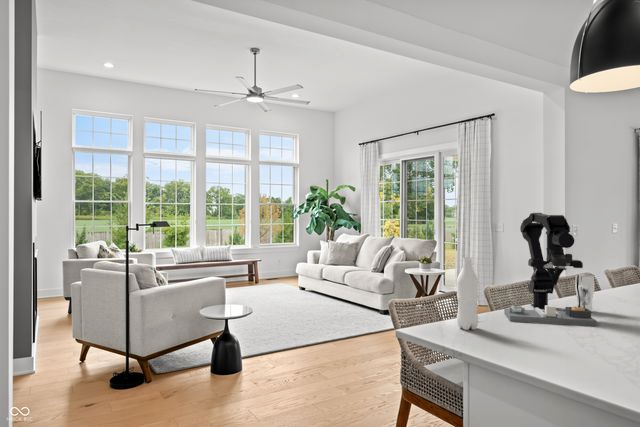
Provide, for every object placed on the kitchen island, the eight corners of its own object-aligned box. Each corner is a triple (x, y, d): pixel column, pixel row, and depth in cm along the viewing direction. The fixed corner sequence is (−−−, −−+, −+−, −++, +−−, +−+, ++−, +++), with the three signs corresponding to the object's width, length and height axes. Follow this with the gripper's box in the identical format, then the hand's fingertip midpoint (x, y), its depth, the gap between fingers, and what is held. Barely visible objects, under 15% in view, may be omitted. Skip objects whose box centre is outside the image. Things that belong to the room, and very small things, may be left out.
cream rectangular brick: (544, 314, 165) (544, 305, 165) (554, 315, 164) (554, 305, 164) (546, 316, 162) (546, 306, 162) (556, 316, 162) (555, 307, 162)
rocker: (511, 308, 172) (511, 306, 173) (519, 309, 172) (519, 306, 172) (513, 308, 168) (513, 305, 168) (522, 309, 167) (522, 306, 167)
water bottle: (479, 331, 150) (479, 259, 150) (458, 330, 151) (458, 258, 151) (476, 326, 157) (476, 256, 157) (455, 325, 158) (455, 256, 158)
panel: (504, 313, 177) (504, 302, 177) (583, 317, 170) (583, 306, 170) (510, 321, 164) (510, 309, 164) (596, 326, 157) (596, 313, 157)
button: (569, 313, 167) (569, 306, 167) (582, 313, 166) (582, 307, 166) (573, 315, 163) (573, 309, 163) (586, 316, 162) (586, 309, 162)
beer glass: (589, 309, 185) (589, 274, 185) (597, 312, 178) (597, 276, 178) (571, 308, 186) (571, 273, 186) (580, 312, 179) (580, 276, 179)
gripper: (534, 247, 170) (534, 287, 170) (587, 248, 165) (587, 289, 165) (527, 245, 181) (527, 282, 181) (577, 245, 176) (577, 284, 176)
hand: (554, 284), depth 175 cm, fingers closed
